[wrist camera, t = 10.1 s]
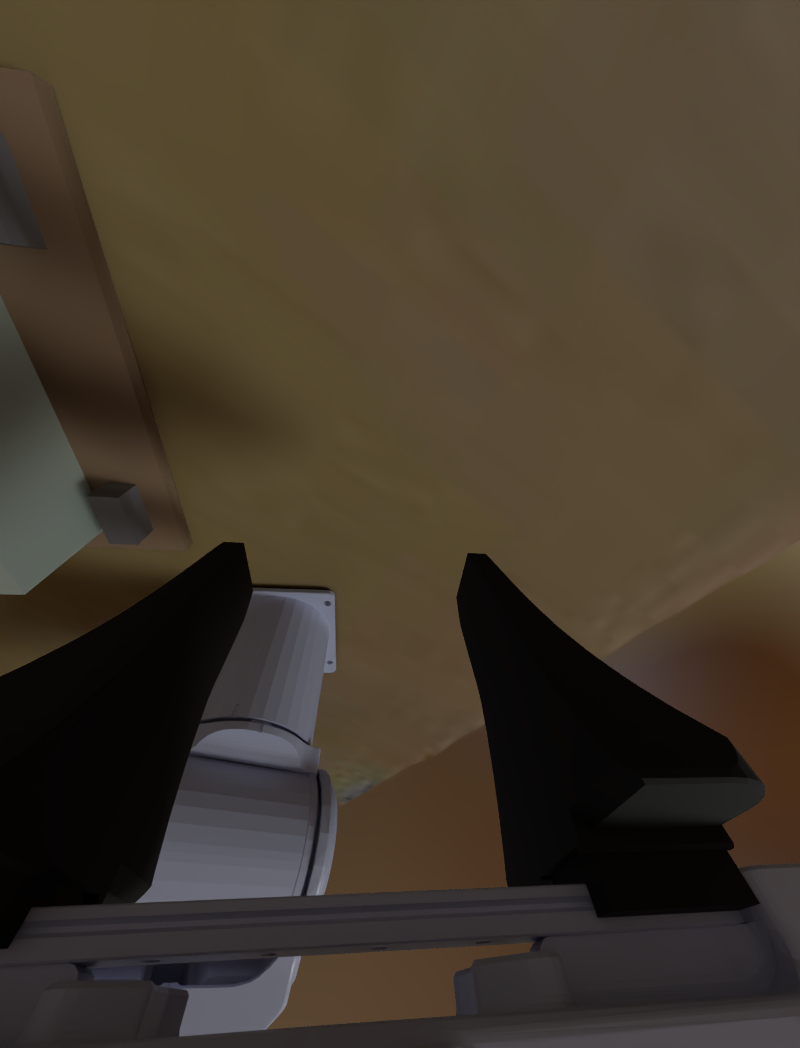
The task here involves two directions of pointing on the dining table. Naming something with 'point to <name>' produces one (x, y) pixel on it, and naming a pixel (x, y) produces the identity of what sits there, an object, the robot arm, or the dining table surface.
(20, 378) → the block
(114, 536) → the cradle board
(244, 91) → the dining table surface
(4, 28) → the dining table surface
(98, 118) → the dining table surface
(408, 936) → the robot arm
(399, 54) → the dining table surface
